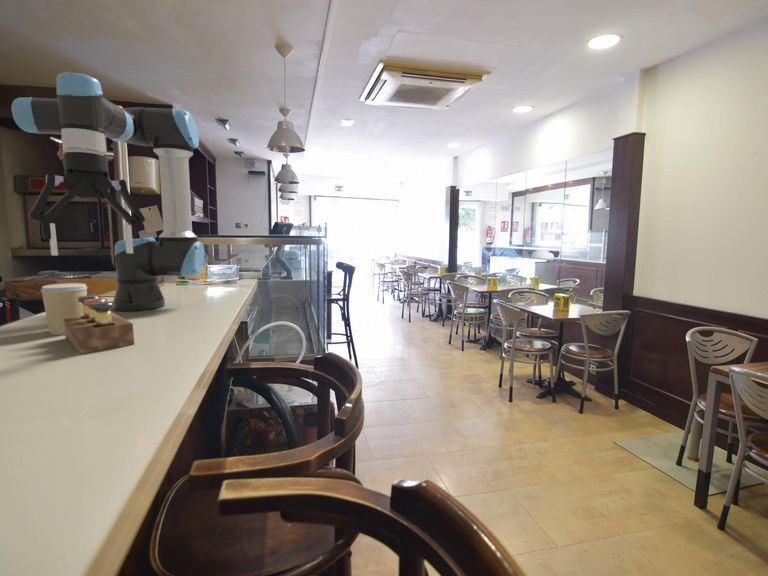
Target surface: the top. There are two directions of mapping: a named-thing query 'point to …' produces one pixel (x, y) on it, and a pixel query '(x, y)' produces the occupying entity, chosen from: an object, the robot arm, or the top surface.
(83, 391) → the top surface
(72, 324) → the walnut block
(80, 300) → the plunger
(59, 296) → the coffee cup
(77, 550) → the top surface
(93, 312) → the plunger red
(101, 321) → the plunger
